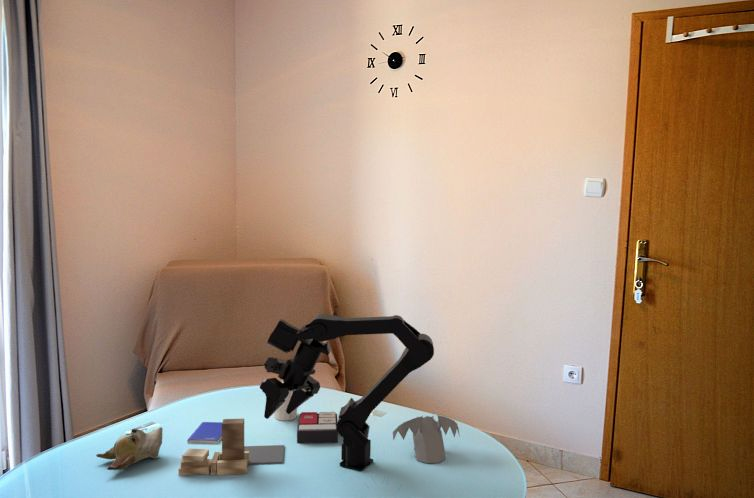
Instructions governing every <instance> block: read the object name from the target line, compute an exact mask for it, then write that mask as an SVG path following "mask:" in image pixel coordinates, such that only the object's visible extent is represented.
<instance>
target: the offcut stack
mask: <svg viewBox="0 0 754 498" xmlns="http://www.w3.org/2000/svg"><path fill="white" fill-rule="evenodd" d="M209 456H210V449H209V448H188V449H187V450H186V452H184V453H183V454H181V459H180V465H179V466H178V469H177V470H178V472H177V473H178V476H191V475H193V476H195V475H210V473H211V461H212V458H209Z"/></svg>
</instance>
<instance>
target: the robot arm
mask: <svg viewBox="0 0 754 498" xmlns="http://www.w3.org/2000/svg"><path fill="white" fill-rule="evenodd" d="M382 334H383V335H386V334H388V335H389V334H393V335H394V336H395V337H396V338H397V339H398V341H400V342H401V343H402V345H403V346H404V347H405V348H404V350H403V351H402V353H401V355H400V357H399V359H397V360H396V362H395V363H394V364H393V365H392V366H391V367H390V368H389V369H388V370H387V371H386V372H385V374H384V375H382V376H381V377H380V378H379V379H378V381H376V382H375V383H374V385H373V386H372V387H370V389H369V390H368V391H367V392H366V393H365V394H364V395H363V396H362V397H360V399H357V400H354V398H353V397H351V398H349V400H348V402H347V403H346V404H345V405H344V406H341V408H340V410H339V414H338V415H337V432H338V436H340V437H342V444H341V449H340V450H341V452H340V454H341V456H340V457H341V462H339V466H340V467H345V468H348V469H351V470H355V471H359V472H362V471H364V470H365V469H366V468H367V467H369V465H371V464H372V463H374V458H371V448H372V447H371V442H372V441H371V439H370V438H369V433H370V425H369V423H367V421H368V418H369V417H370V415H371V413H372V412H373V411H374V410H375V409H376V408H377V407H379V405H380V404H381V403H382V402H383V401H384V399H386V398H387V397H388V396H389V394H390V393H392V391H394V389H395V388H396V387H397V386H398V385H400V383H401V382H402V381H403V380H404V379H405V378H406V377H407V376H408V375H409V374H410V373H412V372H414V371H416V370H418V369H420V368H421V367H423V366H424V365H425V364H427V363H428V362H429V361H431V360H432V358H434V354H435V347H434V342H433V340H432V338H431V337H430V336H429V335H428V334H426V333H421V332H420V331H418V330H417V329H416V328H415V327H414V326H412V325H411V324H409V322H407V321H406V320H405V319H404V318H403V317H402V316H401V315H397V314H394V315H391V316H366V317H365V316H364V317H342V316H339V315H335V314H328V313H321V314H317V315H315V316H314V318H313V319H312V320H311V321H310V322H309V323H306V324H305V325H303V326H301V327H300V328H298V327H297V326H294V325H292V324H291V323H288V322H287V321H286V320H284V319H282V318H281V319H280V320H278V322H277V324H276V325H275V328H274V329H273V331H272V332H271V333H270V335H269V337H268V340H267V341H266V343H267V344H268V345H269V346H272V347H274V348H276V349H278V350H280V351H281V352H283V353H285V354H288V353H290V352H294V351H295V349H296V348H297V350H296V352H295V353H294V355H293V357H292V359H291V358H290V359H287V360H286V359H281V358H277V357H273V356H270V357H267V359H266V361H265V362H264V363H263V365H264V369H265V370H266V371H265V372H266V373H271V374H276V375H278V376H277V377H278V378H277V377H271V378H265V379H263V380H262V381H261V383H260V385H259V389H260V390H261V392H262V393H263V394H264V395H265V407H264V415H263V417H264V419H266V420H268V419H270V417H271V416H273V415H274V412H275V411H276V410H277V409H278V408H279V407H280V406H281V405H282V404H283V403H284V402H285V400H284V399H285V398H286V397H287V396H288V394H289V391H293V393H292V396H291V399H290V401H289V404H288V406H287V409H286V413H288V414H290V413H291V412H293V411H294V410H295V409H296V408H297V409H298V408H299V407H300V406H301V405H303V404H304V403H306V402H307V401H308V400H309V399H311V398H312V397H314V395H317V394H318V393H319V391H320V389H321V384H320V382H319V381H318V380H317V379H315V378H314V377H312V376H311V375H315V373H316V371H317V370H316V369H314V368H315V366H316V365H317V362H318V361H319V359H320V356H321V354H323V355H325V356H329V355H330V353H331V351H332V350H331V347H330V346H329V341H332V340H335V339H338V338H342V337H345V336H359V335H361V336H362V335H382ZM299 342H300V344H299ZM298 344H299V346H298V347H297V345H298ZM279 379H280V380H279ZM281 380H282V381H283V382H284V383H282V382H280V381H281Z"/></svg>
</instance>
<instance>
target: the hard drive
mask: <svg viewBox="0 0 754 498" xmlns="http://www.w3.org/2000/svg"><path fill="white" fill-rule="evenodd" d="M222 422H223V421H222ZM222 422H219V421H218V422H216V421H214V422H213V421H202V422H201V423H200V424H199V425H198V427H197V428H196V429H195V430H194V432H193V433H192V434H191V435H190V436H189V437H188V438H187V440H186V442H187V444H212V445H213V444H214V445H215V444H219V442H220V441H221V440H222Z"/></svg>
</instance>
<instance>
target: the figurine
mask: <svg viewBox="0 0 754 498" xmlns="http://www.w3.org/2000/svg"><path fill="white" fill-rule="evenodd" d="M436 416H437V420H435V418H434V415H432V416H430V415H429V416H428V415H427V416H424V417H423V415H422V416H416V417H415V418H411V419H409V420H407V421H404V422H402V423H401V424H399V425H397V427H396V428H395V429H394V430H393V431H392V439H393V441H394V440H395V438H396V437H397V434H398V433H399V435H400V436H401V438H402V440H405V438H406V436H407V434H408V432H409V430H410V432H411V433H412V439H413V451H414V454H415V456H414V457H415V459H416V461H418V462H421V463H425V464H435V463H436V464H439V463H442V462H443V461H445V459H446V452H445V445H444V437H443V433H444V435H445V436H447V434H448V431H449V429H450V430H451V433H452V435H453V437H454V438H456V433H458V436H459V437H461V436H460V429H459V425H458V423H457V422H456V421H455V420H453V419H451V418H449V417H446V416H442V415H438V414H437V415H436ZM441 428H442V430H441ZM442 431H443V432H442Z"/></svg>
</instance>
